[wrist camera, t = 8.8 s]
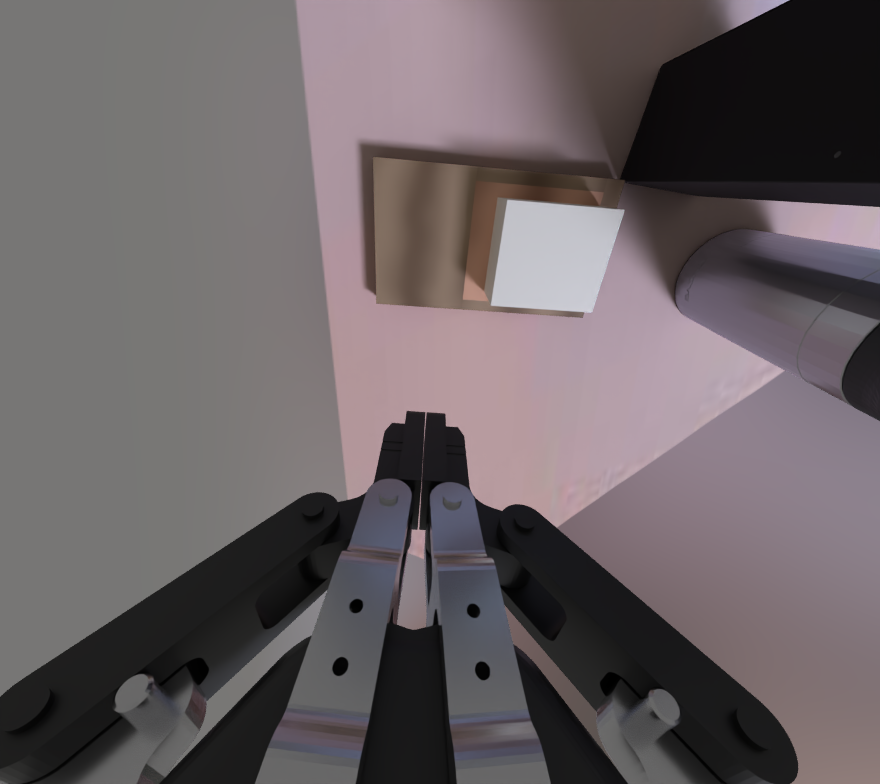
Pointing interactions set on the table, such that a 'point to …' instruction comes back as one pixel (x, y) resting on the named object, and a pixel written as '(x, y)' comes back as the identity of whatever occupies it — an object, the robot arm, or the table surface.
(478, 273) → the podium
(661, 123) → the black rectangular column
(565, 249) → the carton
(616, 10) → the table surface
